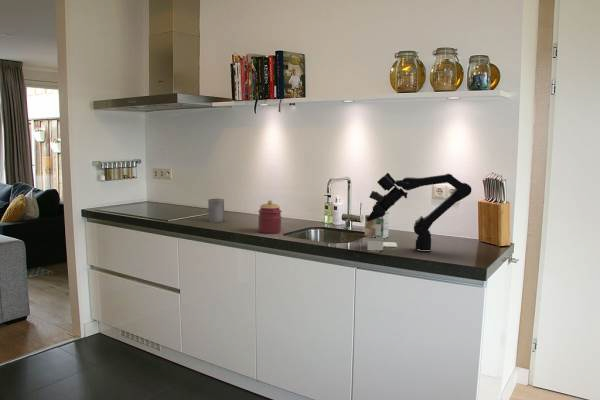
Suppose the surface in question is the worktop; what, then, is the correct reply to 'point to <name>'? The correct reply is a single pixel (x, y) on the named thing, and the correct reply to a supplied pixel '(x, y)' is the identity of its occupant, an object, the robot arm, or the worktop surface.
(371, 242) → the screen
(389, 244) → the display pad
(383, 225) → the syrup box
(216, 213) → the pillar candle
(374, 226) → the oak block
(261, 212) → the canister
